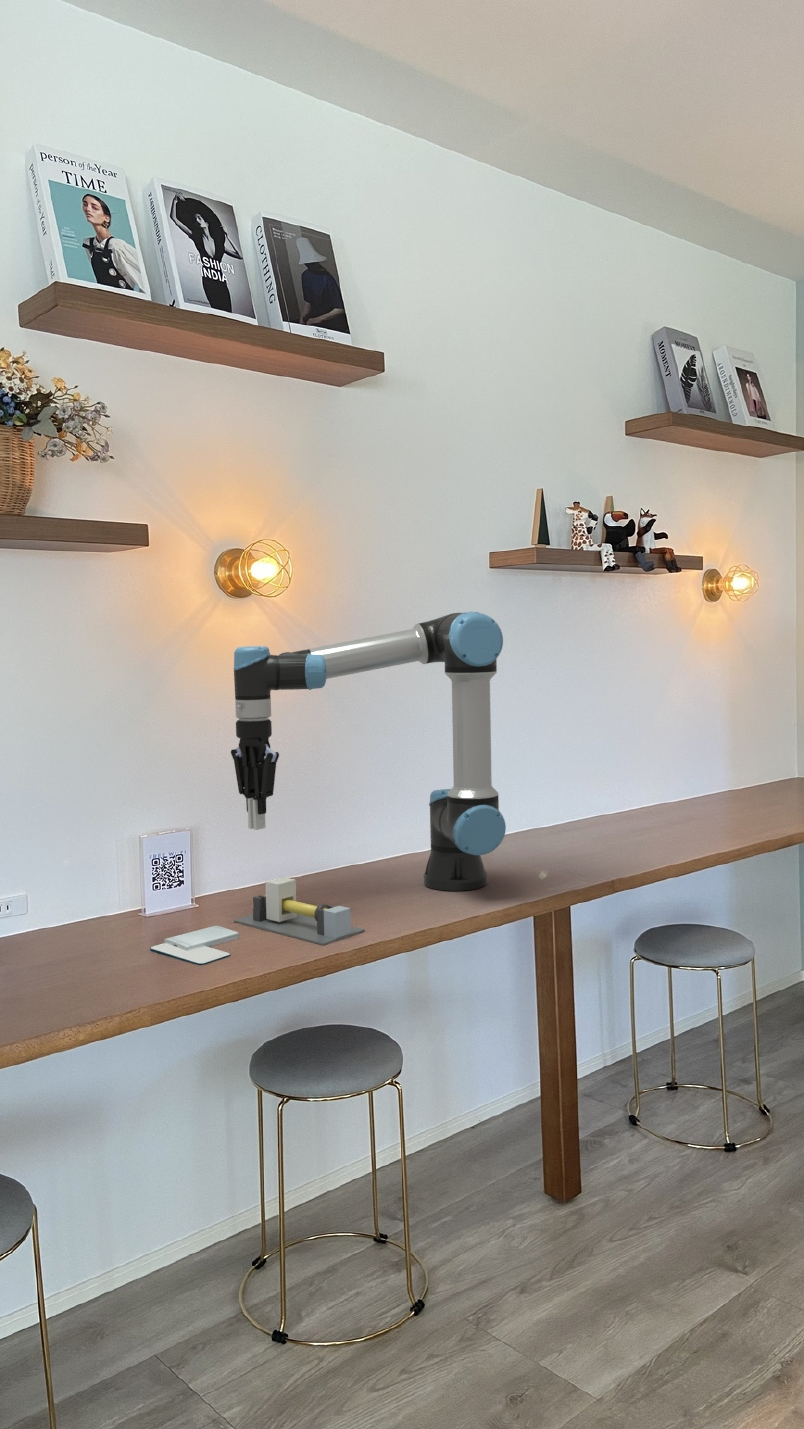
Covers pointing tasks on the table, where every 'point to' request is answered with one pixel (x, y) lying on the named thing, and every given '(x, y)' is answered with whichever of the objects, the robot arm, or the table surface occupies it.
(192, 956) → the smartphone
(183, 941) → the hard drive
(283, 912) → the sleeve
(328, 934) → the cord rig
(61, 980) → the table surface
